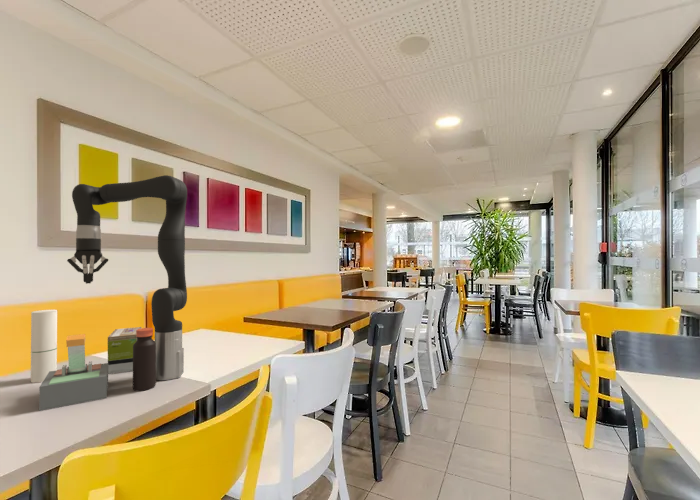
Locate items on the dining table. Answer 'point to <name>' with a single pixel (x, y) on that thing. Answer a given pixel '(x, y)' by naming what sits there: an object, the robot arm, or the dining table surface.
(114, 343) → the tea box
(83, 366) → the lever
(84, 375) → the switch box
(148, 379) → the bottle
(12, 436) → the dining table surface
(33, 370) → the cylindrical container
